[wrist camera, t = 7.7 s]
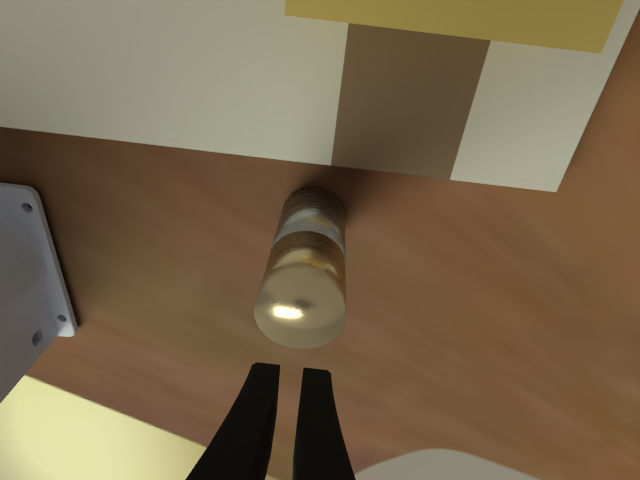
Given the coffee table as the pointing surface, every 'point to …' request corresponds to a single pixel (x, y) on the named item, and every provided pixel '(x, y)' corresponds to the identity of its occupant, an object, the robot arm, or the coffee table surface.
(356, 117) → the subfloor board
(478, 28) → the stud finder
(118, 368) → the coffee table surface
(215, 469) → the robot arm
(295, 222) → the banded metal canister
